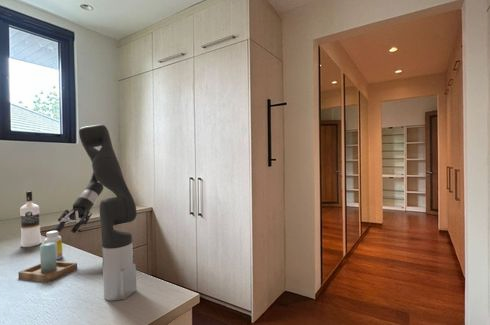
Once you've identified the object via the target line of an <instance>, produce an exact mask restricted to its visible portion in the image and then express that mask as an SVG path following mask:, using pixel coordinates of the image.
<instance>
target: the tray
mask: <svg viewBox="0 0 490 325" xmlns="http://www.w3.org/2000/svg"><path fill="white" fill-rule="evenodd" d="M56 261H57V270H56V271H54V272H51V273H47V274H42V273H41V262H40V263H38V264H35V265H33V266H30V267H28V268H25V269H22V270H20V271H18V279H20V280H21V279H22V280H27V281H36V282H43V283H51V282H53V281H55V280H57V279H59V278H61V277H64V276H66V275H68V274H70V273H72V272H74V271H76V270H78V263H77V262H71V261H70V262H68V261H62V260H60V261H58V260H56Z"/></svg>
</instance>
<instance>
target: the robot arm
mask: <svg viewBox="0 0 490 325" xmlns="http://www.w3.org/2000/svg"><path fill="white" fill-rule="evenodd" d="M78 135H79V139H80V142H81V145H82V146H83V148H84V150H85V152H86V154H87V156H88V158H89V159H90V162H91V167H92V173H91V174H92V175H91V178H90V180H89V183H88V184H87V186H86V187H85V188H84V190H83V191H82V192H81V193H80V194H79V196H78V198H76V200H75V202H74V203H73V204H72V209H71V210H68V209H65V210H64V211H63V213H62V214H61V215H60V217H59V218H58V219H57V221H58V222H59V223H58V225H57V226H56V228H55V231H58V232H59V233H60V232H62V230H63V228H64V227H65V226H66V224H69V223H70V222H72V221H76V223H74V225H73V226H72V227H71V229H70V232H71V233H73V234H76V233H77V231H78V230H79V229H80V227H81V226H83V225H84V226H85V225H87V223H88V221H89V220H90V219H91V216H92V214H93V213H92V212H91V210H92V208H93V207H94V205H95V204H96V202H97V200H98V198H99V197H100V195H101V194H102V192H103V191H104V187H105V188H106V189H108V190H109V191H110V192H112V193H113V194H114V195H115V197H109V198H103V199H102V200H100V203H99V207H98V208H99V209H98V210H99V220H100V228H101V229H100V230H101V243H102V244H101V246H102V247H101V248H102V249H101V250H102V251H101V253H102V271H103V272H102V275H103V276H102V277H103V278H102V279H103V298H104V299H105V300H106V301H120V300H125V299H127V298H128V297H130V296H131V295H132V294H134V293H135V292H136V291H137V267H136V263H134V253H133V236H132V235H133V234H131V233H130V232H127V231H120V230H116V229H114V226H117V225H121V224H127V223H132V222H134V221H135V220H136V218H137V215H138V214H137V206H136V203H135V200H134V198H133V196H132V193H131V192H130V189H129V188H128V186H127V183H126V181H125V178H124V175H123V172H122V169H121V165H120V162H119V161H118V158H117V156H116V153H115V151H114V150H115V149H114V147H113V144H112V139H111V136H110V133H109V130H108V128H107V126H106V125H105V124H94V125H88V126H82V127H80V128H79V129H78ZM97 147H100V148H99V149H97Z"/></svg>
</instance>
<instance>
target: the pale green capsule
mask: <svg viewBox="0 0 490 325" xmlns="http://www.w3.org/2000/svg"><path fill="white" fill-rule="evenodd" d="M39 253H40V254H39V255H40V257H39V258H40V259H39V260H40V263H41V273H42V274H47V273H51V272H54V271H56V270H57V261H58V260H56V243H55V242H51V243H45V244H44V243H41V244H39Z"/></svg>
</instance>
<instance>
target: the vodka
mask: <svg viewBox="0 0 490 325" xmlns="http://www.w3.org/2000/svg"><path fill="white" fill-rule="evenodd" d="M25 196H26V197H25V199H26V200H25V201H26V203H25V204H23V205H22V206H20V208H19V213H20V214H19V216H20V232H21V234H20V238H21V239H20V243H19V245H20V247H21V248H32V247H35V246H38V245H39V246H40V245H41V244H42V242H43V239H42V235H41V225H40V222H41V221H40V205H38V204H36V203H34V202H33V191H31V190H30V191H26V193H25Z"/></svg>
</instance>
